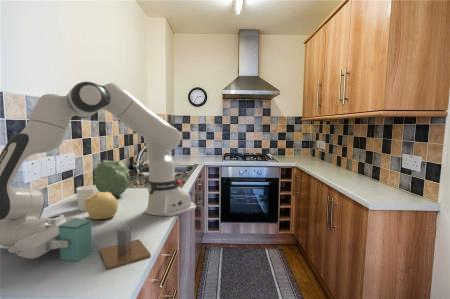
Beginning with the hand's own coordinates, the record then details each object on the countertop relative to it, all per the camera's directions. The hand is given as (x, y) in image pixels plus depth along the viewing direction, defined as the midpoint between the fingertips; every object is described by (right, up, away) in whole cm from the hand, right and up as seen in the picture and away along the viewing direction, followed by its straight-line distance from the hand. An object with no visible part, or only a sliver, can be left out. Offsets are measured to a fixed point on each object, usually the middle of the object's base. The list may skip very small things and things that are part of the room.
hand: (78, 237), depth 75 cm
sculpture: (-8, -3, +32) cm, 33 cm away
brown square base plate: (+13, -5, +2) cm, 14 cm away
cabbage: (-17, +1, +62) cm, 65 cm away
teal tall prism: (-1, -5, +1) cm, 6 cm away
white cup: (-20, -1, +42) cm, 47 cm away
